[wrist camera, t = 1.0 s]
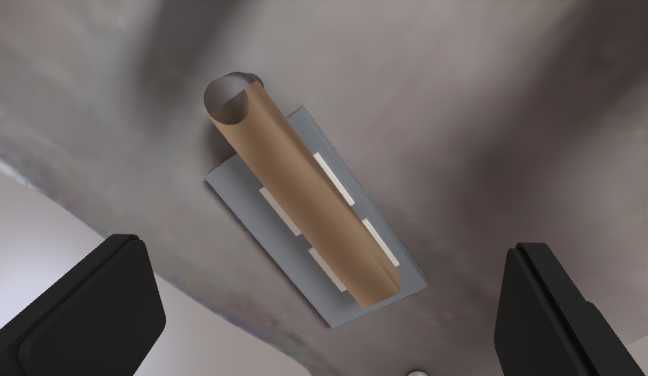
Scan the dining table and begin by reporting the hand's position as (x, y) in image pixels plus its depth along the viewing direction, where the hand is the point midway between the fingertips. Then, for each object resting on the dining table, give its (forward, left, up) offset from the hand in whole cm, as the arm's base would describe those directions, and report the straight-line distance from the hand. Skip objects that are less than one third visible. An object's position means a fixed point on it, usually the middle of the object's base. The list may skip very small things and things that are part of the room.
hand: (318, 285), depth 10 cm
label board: (+12, +9, -27) cm, 31 cm away
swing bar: (+9, +4, -24) cm, 26 cm away
